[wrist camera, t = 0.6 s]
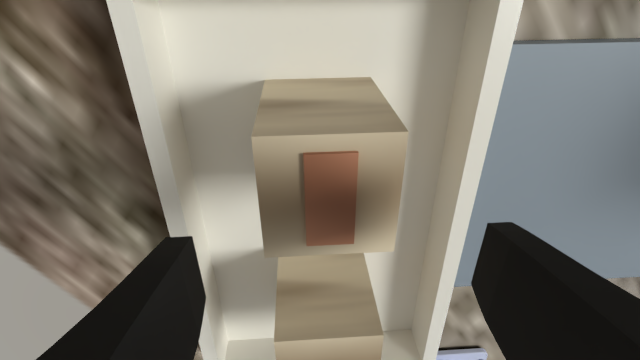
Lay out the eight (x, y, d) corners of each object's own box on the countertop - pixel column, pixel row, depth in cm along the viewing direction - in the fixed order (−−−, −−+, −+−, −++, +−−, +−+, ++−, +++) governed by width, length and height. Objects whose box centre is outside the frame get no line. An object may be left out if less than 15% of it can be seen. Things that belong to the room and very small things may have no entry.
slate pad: (638, 267, 24) (648, 276, 23) (439, 277, 23) (444, 287, 22) (771, 35, 17) (792, 38, 16) (490, 41, 16) (499, 44, 15)
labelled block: (365, 169, 18) (395, 254, 13) (272, 172, 18) (264, 260, 13) (370, 76, 16) (410, 133, 10) (265, 79, 16) (250, 138, 10)
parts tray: (418, 329, 25) (433, 370, 23) (219, 341, 25) (210, 385, 22) (489, -34, 14) (531, -33, 12) (134, -30, 14) (98, -30, 11)
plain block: (357, 298, 23) (376, 397, 17) (283, 302, 22) (280, 403, 17) (360, 240, 20) (383, 335, 15) (278, 244, 20) (273, 342, 15)
